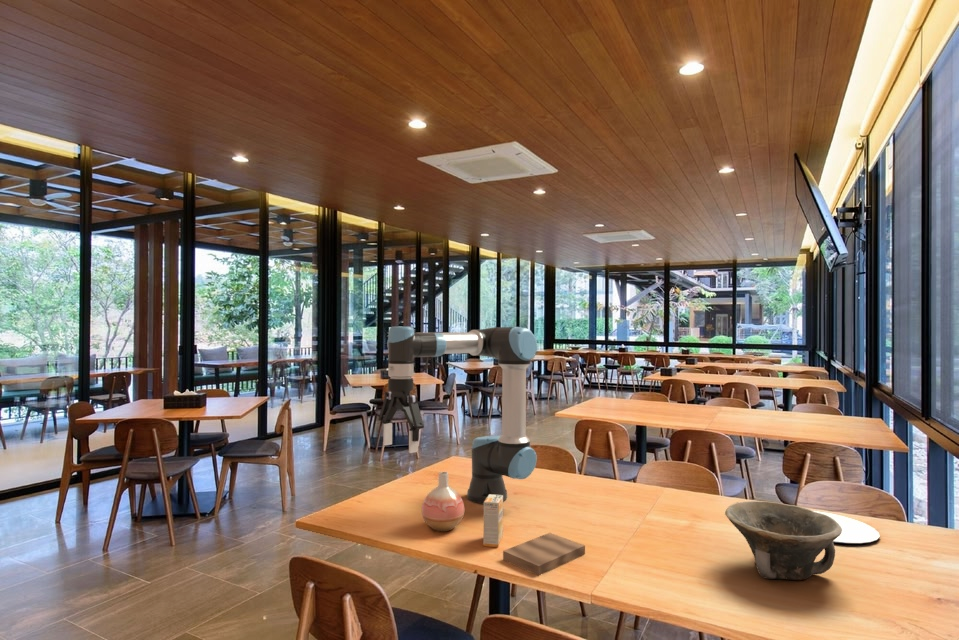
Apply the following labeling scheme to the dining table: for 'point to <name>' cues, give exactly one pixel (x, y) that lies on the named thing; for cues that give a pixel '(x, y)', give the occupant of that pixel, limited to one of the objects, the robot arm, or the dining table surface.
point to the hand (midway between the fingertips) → (400, 448)
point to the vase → (443, 506)
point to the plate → (853, 530)
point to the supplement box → (493, 520)
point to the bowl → (785, 538)
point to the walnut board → (543, 553)
